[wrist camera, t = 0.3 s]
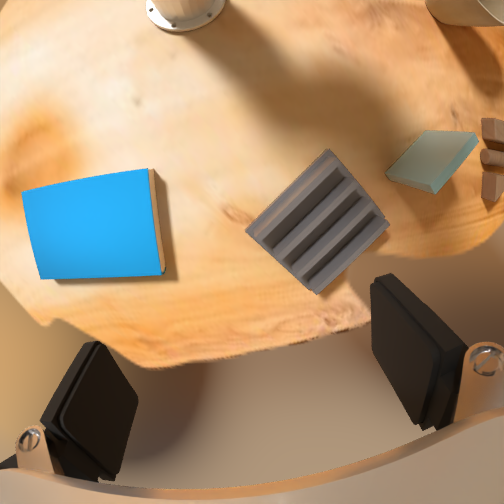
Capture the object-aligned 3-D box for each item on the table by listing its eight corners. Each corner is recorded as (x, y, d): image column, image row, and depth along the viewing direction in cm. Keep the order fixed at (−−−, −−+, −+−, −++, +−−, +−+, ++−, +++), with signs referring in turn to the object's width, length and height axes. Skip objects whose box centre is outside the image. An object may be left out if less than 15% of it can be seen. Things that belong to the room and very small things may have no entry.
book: (20, 192, 37) (146, 166, 38) (34, 187, 41) (154, 164, 42) (41, 283, 43) (162, 278, 44) (52, 273, 47) (168, 267, 48)
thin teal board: (384, 173, 44) (429, 185, 31) (425, 130, 41) (474, 132, 29) (389, 180, 44) (435, 194, 32) (429, 137, 41) (479, 141, 29)
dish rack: (244, 229, 46) (246, 239, 41) (327, 148, 42) (338, 149, 37) (307, 287, 50) (314, 301, 45) (382, 215, 46) (396, 223, 41)
